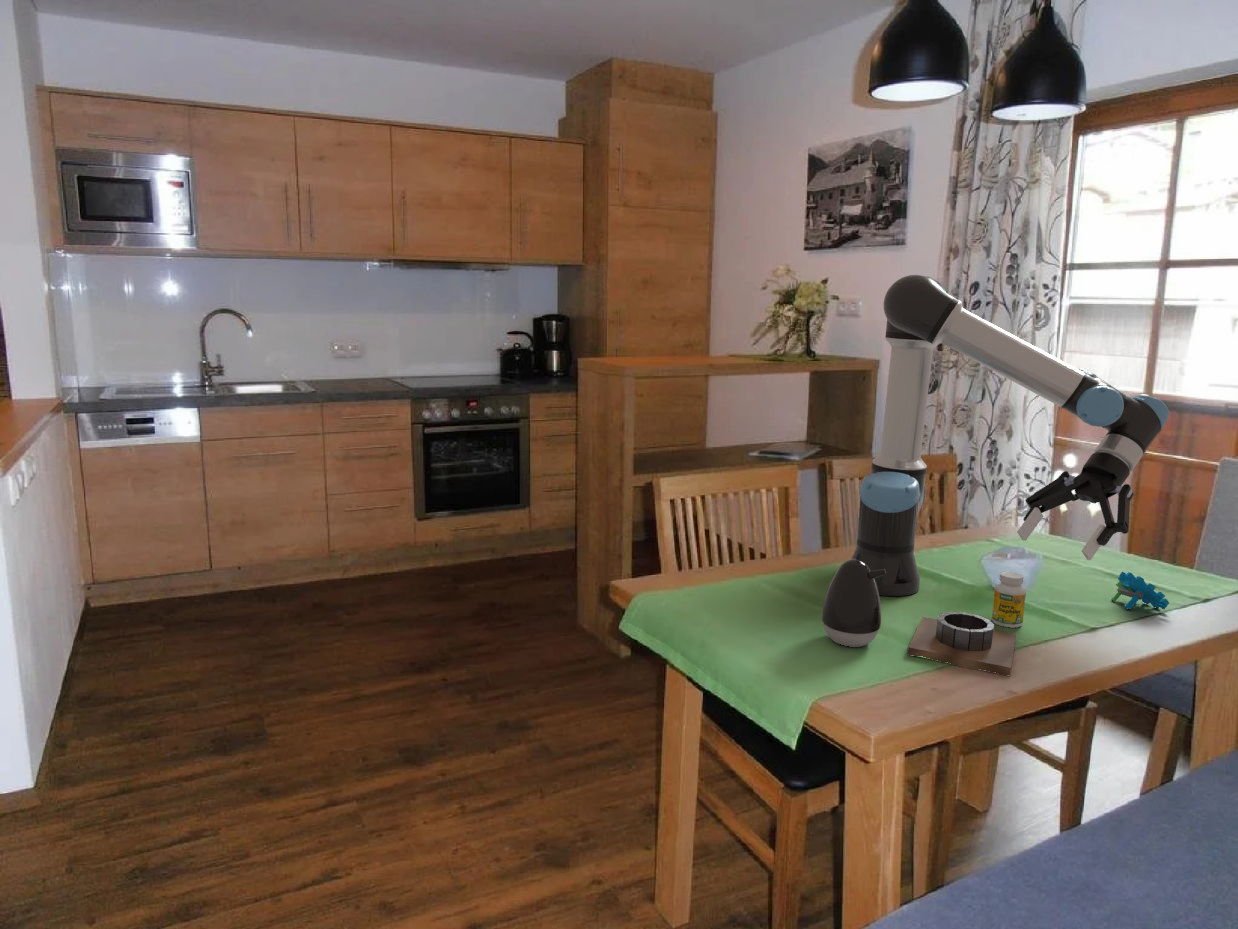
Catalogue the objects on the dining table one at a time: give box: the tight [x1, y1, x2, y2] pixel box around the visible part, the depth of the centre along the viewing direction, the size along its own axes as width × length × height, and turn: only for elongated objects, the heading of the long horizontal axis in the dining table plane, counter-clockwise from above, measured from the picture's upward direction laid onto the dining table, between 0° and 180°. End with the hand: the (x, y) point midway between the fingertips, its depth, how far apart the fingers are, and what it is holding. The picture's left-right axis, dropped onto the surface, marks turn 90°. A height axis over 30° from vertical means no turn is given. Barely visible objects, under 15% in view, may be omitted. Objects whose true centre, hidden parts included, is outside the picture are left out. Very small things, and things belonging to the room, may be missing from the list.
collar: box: [936, 611, 995, 651], centre depth 146 cm, size 9×9×4 cm
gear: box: [1111, 571, 1170, 610], centre depth 168 cm, size 11×6×10 cm
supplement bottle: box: [991, 571, 1027, 629], centre depth 158 cm, size 5×5×10 cm
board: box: [907, 616, 1017, 676], centre depth 147 cm, size 16×16×2 cm
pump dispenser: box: [821, 558, 886, 648], centre depth 148 cm, size 10×10×15 cm
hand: (1052, 546), depth 160 cm, fingers open, 13 cm apart
